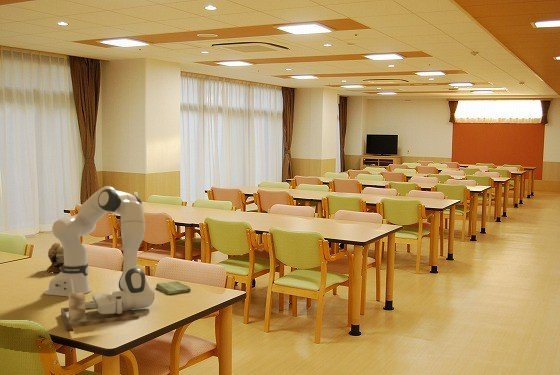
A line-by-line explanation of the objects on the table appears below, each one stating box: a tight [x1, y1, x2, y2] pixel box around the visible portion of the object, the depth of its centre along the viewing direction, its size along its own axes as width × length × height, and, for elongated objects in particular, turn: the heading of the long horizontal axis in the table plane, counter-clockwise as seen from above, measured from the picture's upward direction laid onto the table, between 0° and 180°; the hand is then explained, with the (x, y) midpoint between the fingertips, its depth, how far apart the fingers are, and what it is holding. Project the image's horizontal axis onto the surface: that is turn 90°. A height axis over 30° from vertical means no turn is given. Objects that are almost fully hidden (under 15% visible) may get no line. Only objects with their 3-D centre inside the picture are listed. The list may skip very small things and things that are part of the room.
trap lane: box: [60, 306, 140, 332], centre depth 249 cm, size 29×24×3 cm
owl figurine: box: [46, 241, 64, 274], centre depth 335 cm, size 18×12×17 cm, turn 45°
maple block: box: [67, 292, 86, 321], centre depth 245 cm, size 6×6×10 cm
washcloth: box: [155, 280, 192, 296], centre depth 296 cm, size 13×18×3 cm
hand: (84, 305), depth 246 cm, fingers closed
